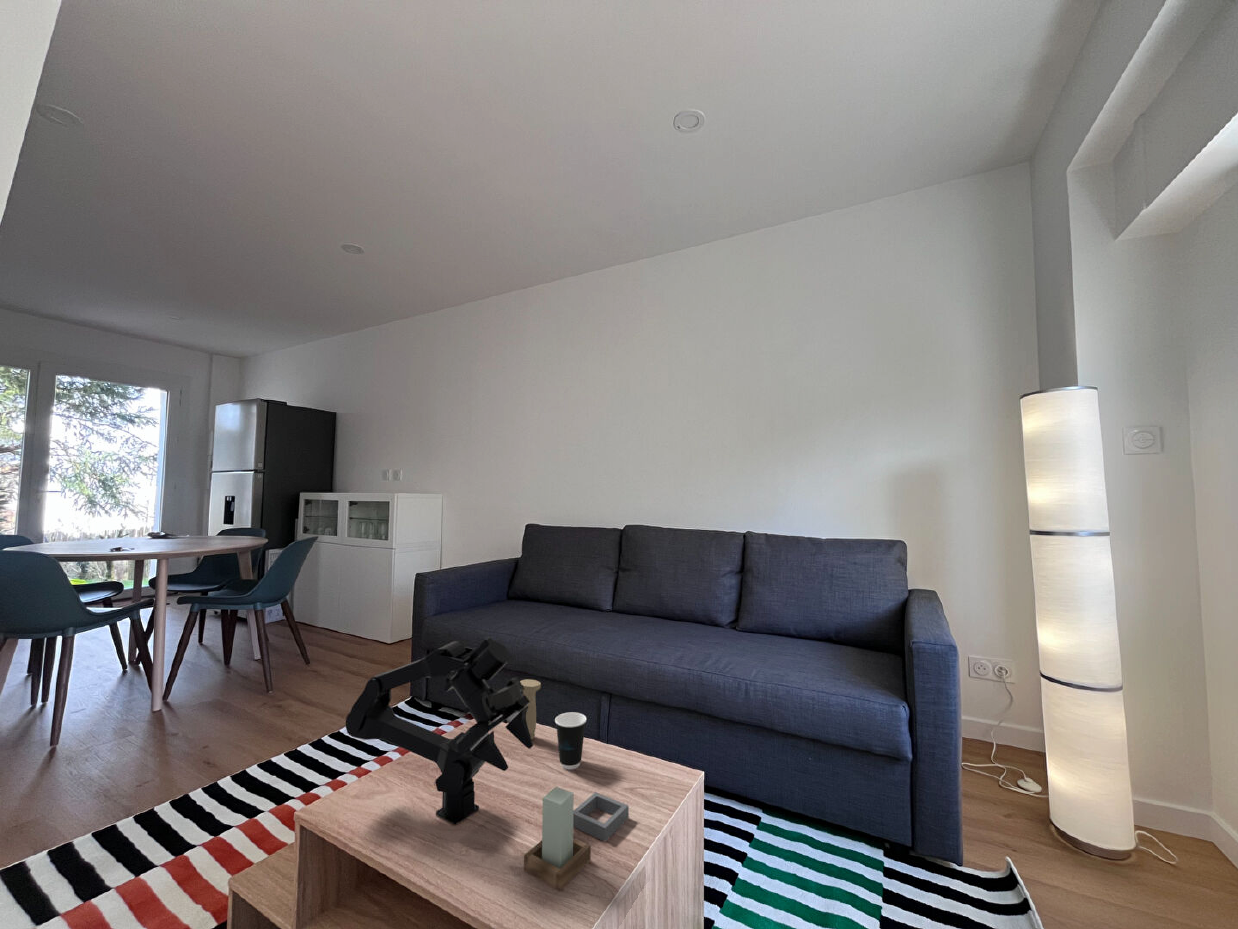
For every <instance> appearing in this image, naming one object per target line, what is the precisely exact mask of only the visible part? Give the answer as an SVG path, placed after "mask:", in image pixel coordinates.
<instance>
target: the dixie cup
mask: <svg viewBox="0 0 1238 929" xmlns="http://www.w3.org/2000/svg"><path fill="white" fill-rule="evenodd" d="M554 722H555V723H556V724H555V725H556V726H555V727H556V737H557V744H558V745H557V746H558V757H559V759H558V760H559V763H560V767H561V768H562V767H563V768H562V769H565V770H575V769H577V768H579V766H580V765H581V761H582V756H583V755H582V754H583V747H584V736H585V731H586V730H585V729H586V728H585V727H586V722H587V716H586V715H584V714H583V713H580V712H577V711H576V712H575V711H574V712H573V711H572V712H564V713H561V714H558V716H556V717H555V719H554Z"/></svg>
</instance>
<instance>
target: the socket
mask: <svg viewBox="0 0 1238 929" xmlns="http://www.w3.org/2000/svg"><path fill="white" fill-rule="evenodd" d="M629 807H630V805H628V804H625V803H624V802H621V801H618V800H616V799H614V798H611V797H609V796H606V795H604V794H601V793H599V792H594V793H593V794H591V795H590V796H589V797H588V798H586V800H584V801H583V802H582V803H581V804H580V805H579V806H577V807H576V808H575V809H573V828H575V829H577V830H579V831H582V832H584V833H585V834H588V835H590V836H592V837H594V838H596V839H598V840H601V841H603V842H607V841H608V838H609V837H610V838H611V836H612V835H614V833H616V831H617V830H619V828H620V827H621V826H622V825H623V824H624V823H626V821H627V820H628V819H629V815H630V813H629V812H630V811H629V810H630V809H629ZM595 810H600V811H602V812H604V813H607V814H610V815H611V816H610V817H609V818H608V819H607V820H605V822H603V821H599V820H597V819H596V818H592V817H590V815H591V814H592V813H593V812H594V811H595ZM606 840H607V841H606Z"/></svg>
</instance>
